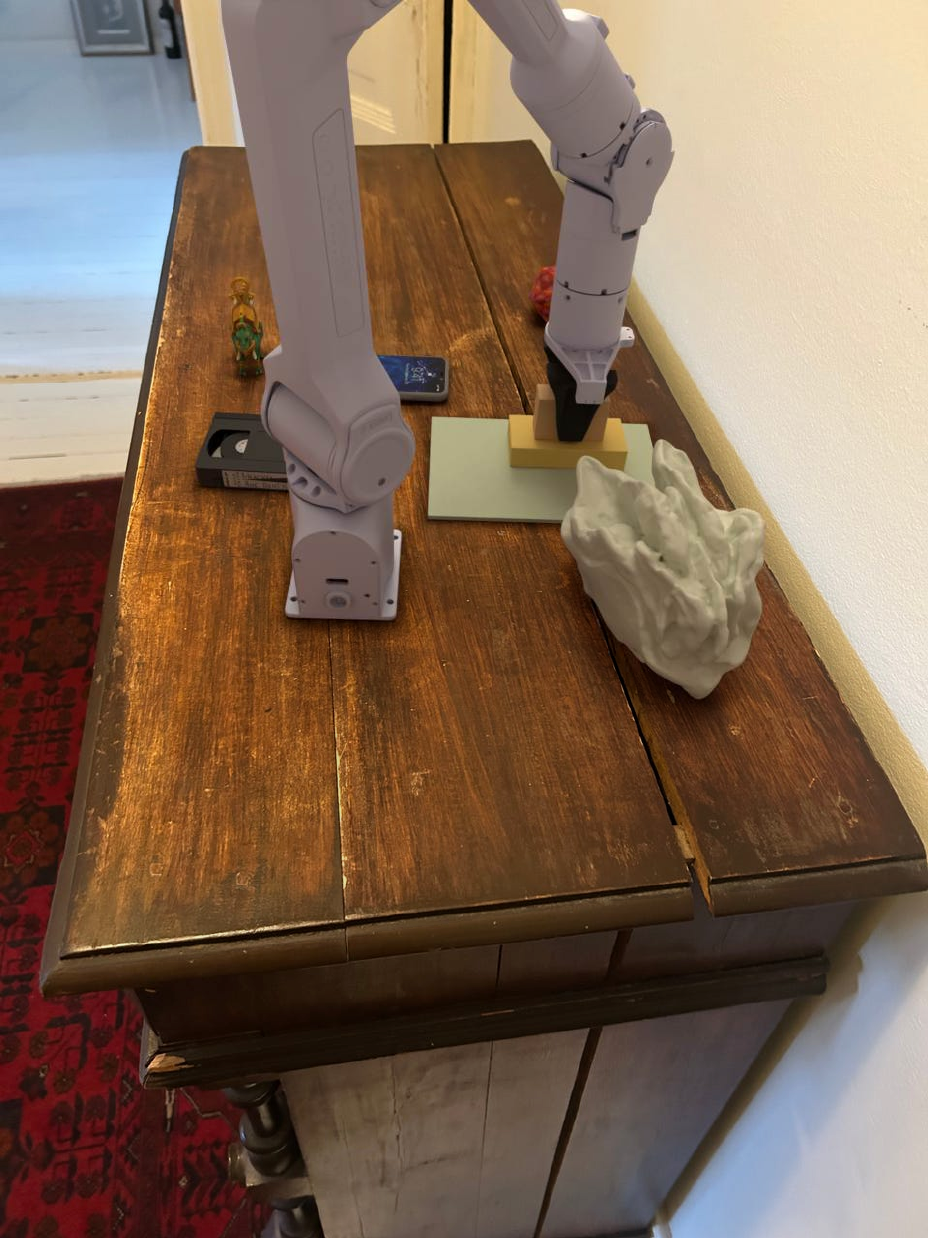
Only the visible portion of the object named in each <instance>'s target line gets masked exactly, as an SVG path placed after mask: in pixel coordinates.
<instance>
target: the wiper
mask: <svg viewBox="0 0 928 1238" xmlns="http://www.w3.org/2000/svg"><path fill="white" fill-rule="evenodd" d="M535 392H536V393H535V401H534V409H533V414H532V415H530V414H509V415H508V419H509V422H508V432H507V434H508V448H509V463H510V467H540V468H572V469H576V467H577V463H578V460H579V459H580V458H581V457H582V456H590V457H592V458H595V459H596V460H598V461H599V462H600V463H601V464H603V465H604V466H605V467H606V468H608V469H616V470H624V467H625V463H626V458H627V454H628V450H627V446H626V441H625V437H624V432H623V428H622V424H623V423H622V420H621V418H618V417H609V413H610V407H611V403H612V402H611V397H610V394H609V395H608V396H607V397H606V399H605V400H604V401H603V404H601V405H600V406H599V408H598V410H597V411H596V413H595V415H594V417H593V419H592V422H591V424H590V426H589V428H588V430H587V433H586V435H585V437H584V438H583V440H582V441H581V442H566V441H559V440H558V436H557V429H556V403H555V397H554V394H553V391H552V389H551V387H550V384H549V383H547V384H545V383H537V385H536V391H535Z"/></svg>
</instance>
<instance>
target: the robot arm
mask: <svg viewBox="0 0 928 1238" xmlns="http://www.w3.org/2000/svg"><path fill="white" fill-rule="evenodd" d="M403 1H404V0H220V10H221V11H220V12H221V22H222V28H223V33H224V40H225V44H226V49H227V55H228V62H229V66H230V71H231V79H232V82H233V88H234V89H233V90H234V93H235V99H236V106H237V110H238V117H239V121H240V126H241V132H242V137H243V142H244V149H245V154H246V160H247V165H248V170H249V176H250V182H251V186H252V187H251V188H252V192H253V197H254V204H255V210H256V215H257V220H258V225H259V230H260V236H261V241H262V246H263V247H262V248H263V251H264V252H263V253H264V257H265V262H266V269H267V273H268V281H269V284H270V291H271V296H272V301H273V306H274V307H273V308H274V312H275V317H276V323H277V329H278V334H279V335H278V336H279V339H280V344H278V345H277V346H276V347H274V349H273V350H272V351H270V352H269V353H268V354H267V355H266V356H265V357H263V360H262V363H263V368H264V374H265V385H264V391H263V395H262V399H261V402H260V414H261V420H262V424H263V426H264V428H265V430H266V432H267V433H268V434H269V435H270V436H271V437H272V438H273V439H274V440H276V441H277V442H279V443H280V444H283V446H282V447H283V455H284V460H285V462H286V472H287V479H288V487H289V491H288V494H289V502H290V509H291V515H292V516H291V517H292V525H293V531H294V536H293V541H292V546H291V556H290V557H291V565H292V571H291V576H290V581H289V582H290V583H289V586H288V592H287V597H286V601H285V602H286V603H285V608H284V614H285V616H286V617H288V618H295V619H297V618H298V619H329V620H331V619H335V620H368V621H369V620H370V621H393V620H395V619H396V617H397V614H398V613H397V612H398V598H399V583H400V570H401V568H400V567H401V556H402V553H401V552H402V542H403V541H402V540H403V533H402V531H401V530H399V529H395V525H394V521H395V520H394V492H395V491H396V490H397V489H399V487H400V486H401V485H402V484H403V482H404V480H405V479H406V477H407V476H408V475H409V472H410V470H411V468H412V465H413V462H414V459H415V454H416V438H415V435H414V432H413V429H411V427H410V426H409V425H408V423H407V422H406V421H405V418H404V416H403V413H402V407H401V400H400V396H399V394H398V392H397V390H396V388H395V386H394V384H393V383H392V381H391V379H390V377H389V376H388V374H387V372H386V371H385V369H384V367H383V366H382V364H381V362H380V361H379V359H378V357H377V355H378V354H377V353H376V351H375V349H374V342H373V340H374V339H373V329H372V319H371V309H370V298H369V297H370V295H369V286H368V276H367V264H366V254H365V244H364V233H363V223H362V220H363V219H362V209H361V199H360V189H359V180H358V179H359V178H358V169H357V157H356V147H355V146H356V144H355V134H354V126H353V125H354V123H353V113H352V112H353V111H352V103H351V102H352V101H351V92H350V91H351V90H350V81H349V71H348V70H349V69H348V56H349V55H350V51H351V50H352V49H353V47H354V46H355V45H356V43H357V42H358V40H359V39H361V38H360V37H361V36H362V35H363V34H364V32H365V31H367V30H370V28H372V27H373V26H375V25H376V24H377V23H378V22H379V21H380V20H382V19H383V18H385V16H386V15H388V14H389V13H390V12H391V11H392V10H394V9H395V8H396V7H397V6H398V5H400V4H401V3H402V2H403ZM466 1H467V2H468V3H469V5H470V6H471V7H472V8H473V9H474V12H476V13H477V14H478V15H479V17H480V18H481V19H482V21H484V23H485V24H486V25H487V26H488V27H489V29H490V30H491V31H492V32H493V34H494V35H495V36H496V37H497V38H498V40H499V41H500V42H501V43H502V45H504V47H505V48H506V49H507V51H508V52H509V53H510V54H511V55H512V56H511V61H510V67H509V81H510V86H511V89H512V91H513V94H514V95H515V97H516V98H517V99H518V100H519V102H520V103H521V104H522V106H523V107H524V108H525V109H526V111H527V112H528V114H529V115H530V116H531V118H532V119H533V120H534V122H535V123H536V124H537V126H539V128H540V129H541V130H542V132H543V134H545V136H546V137H547V138H548V140H549V141H550V147H549V148H550V149H549V151H550V152H549V154H550V160H551V161H550V162H551V166H552V168H553V171H555V172H558V173H559V174H560V175H562V176H563V177H565V178H567V180H566V181H565V188H564V189H565V190H564V197H563V203H562V214H561V222H560V228H559V238H558V245H557V253H556V261H555V265H556V268H555V276H554V284H553V291H552V299H551V307H550V315H549V321H548V323H546V325H545V328H544V336H543V337H542V346H543V347H542V348H543V351H544V353H545V355H546V358H547V360H548V362H547V363H546V364H545V365H546V366H545V369H546V377H547V381H548V384H550V387H551V389H552V391H553V394H554V397H555V403H556V429H557V436H558V440H559V441H566V442H581V441H582V440H583V438H584V437H585V435H586V433H587V430H588V428H589V426H590V424H591V422H592V419H593V417H594V415H595V413H596V411H597V410H598V408H599V406H600V405H601V404H603V401H604V400H605V399H606V397H607V396H608V395H609V396H610V395H611V394H612V393H613V392H614V391H615V390H616V388H617V385H618V384H619V383H618V382H619V377H618V372H617V370H616V369H611V368H612V366H613V363H614V361H615V359H616V357H617V355H618V353H619V350H620V349H621V348H632V347H633V346H634V343H635V339H636V337H635V333H634V330H633V329H632V328H631V327H629V326H623V321H624V316H625V313H626V312H625V311H626V306H627V302H628V297H629V291H630V285H631V280H632V276H633V270H634V265H635V259H636V254H637V251H638V250H637V249H638V245H639V239H640V233H641V230H642V226H645V225H646V224H647V223H648V219H649V217H651V216H652V212H653V208H654V207H653V206H654V202H655V199H656V196H657V194H658V192H659V190H660V188H661V187H662V185H663V183H664V182H665V180H666V178H667V176H668V174H669V171H670V170H671V167H672V164H673V161H674V157H675V153H676V152H675V150H672V149H673V139H672V138H673V137H672V134H671V131H670V129H669V127H668V126H667V122H666V119H665V117H664V116H663V115H662V113H660V112H659V111H657V110H655V109H652V108H649V107H647V106H644V105H642V104H641V102H640V99H639V97H638V95H637V94H636V92H635V88H636V82H635V80H634V79H633V77H632V75H631V74H630V73H627V72H624V71H623V70H622V68H621V66H620V64H619V62H618V61H617V59H616V57H615V56H614V54H613V51H612V50H611V48H610V47H609V45H608V43H607V41H606V39H607V37H608V36H609V34H610V29H609V27H608V25H607V23H606V22H605V20H604V18H603V17H601V16H598V15H595V14H592V13H589V12H585V11H583V10H581V9H578V8H562V7H561V6H560V3H559V1H558V0H466ZM376 354H377V355H376Z"/></svg>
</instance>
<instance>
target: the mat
mask: <svg viewBox="0 0 928 1238" xmlns="http://www.w3.org/2000/svg"><path fill="white" fill-rule="evenodd" d="M508 422H509V418H507V419H506V418H481V417H479V418H477V417H457V416H455V417H452V416H451V417H450V416H431V425H430V426H431V427H430V430H431V431H430V450H429V451H430V452H429V455H430V456H429V476H428V477H429V480H428V482H429V483H428V502H427V520H439V521H440V520H442V521H444V520H445V521H469V522H470V521H472V522H473V521H474V522H504V523H505V522H507V523H534V524H535V523H538V524H541V523H542V524H562V522H563V520H564V518H565V515H566V512H567V511H568V510H569V509H571V508H572V507H573V504H574V502H575V499H576V497H577V494H578V484H577V478H576V469H572V468H540V467H510V463H509V448H508V434H507V432H508ZM622 428H623V432H624V437H625V441H626V446H627V450H628V454H627V458H626V463H625V467H624V470H620V471H622V472H624V473H625V474H626V475H628V476H629V477H631V478H633V479H635V480H637V481H644V482H646V483H648V484H650V485H652V486H653V487H655V481H654V477H653V475H652V453H653V449H654V446H653V443H652V439H651V434H650V430H649V427H648V424H647V423H646V424H645V423H622Z"/></svg>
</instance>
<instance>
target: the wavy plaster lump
mask: <svg viewBox="0 0 928 1238" xmlns="http://www.w3.org/2000/svg"><path fill="white" fill-rule="evenodd" d="M652 475H653V477H654V481H655V487H653V486H652V485H650V484H648V483H646V482H644V481H637V480H635V479H633V478H631V477H629V476H628V475H626V474H625V473H624V472H622V471H620V470H616V469H608V468H606V467H605V466H604V465H603V464H601V463H600V462H599V461H598V460H596V459H595V458H592V457H590V456H582V457H581V458H580V459H579V460H578V463H577V467H576V478H577V484H578V494H577V497H576V499H575V502H574V504H573V507H572V508H571V509H569V510H568V511H567V512H566V515H565V518H564V520H563V522H562V523H561V526H560V538H561V541H562V543H563V545H564V546H565V547H566V549H567V550H568V552H569V553H570V554H571V555H572V557H573V558H574V559H575V561H576V564H577V569H578V572H579V574H580V575H581V580H582V585H583V586H582V587H583V591H584V593H585V594H586V595H587V596H588V597H589V598H590V599H592V600H593V602H594V603H595V604H596V606H597V608H598V610H599V612H600V614H601V616H602V618H603V620H604V623H605V624H606V626H607V627H608V629H609V631H610V632H611V633H612V635H613V636H614V637H615V638H616V640H617V641H618V642H619V643H620V644H621V645H622V644H623V645H624V646H626V647H628V649H629V651H631V653H633V655H634V656H635V657H636V658H637V659H638V661H639V662H641V663H642V664H646V665H647V667H648V668H649V669H650V670H652V671H653V672H654V673H656V674H657V675H659V676H660V677H662V678H664V679H665V680H667V681H670V682H671V683H673V684H675V685H678V686H680V687H682V688H683V690H684V691H686V692H687V693H688V694H689V695H690V696H691V697H693V699H695V700H702V699H704V698H706V697H707V696H708V695H710V694H711V693H712V692H713V691H714V689H715V688H716V687H717V685H719V683H720V681H721V679H722V677H723V675H724V674H725V673H728V672H730V671H732V670H734V669H736V668H738V667H740V666H741V665H742V664H743V663H744V662H745V660H746V658H747V656H748V653H749V650H750V646H751V642H752V637H753V634H754V632H755V630H756V628H757V626H758V624H759V621H760V620H761V616H762V613H763V602H762V598H761V595H760V593H759V590H758V587H757V583H756V577H757V575H758V573H759V572H760V571H761V569H762V568H763V566H764V563H765V560H764V550H765V549H764V548H765V541H766V540H765V539H766V538H765V537H766V528H767V527H766V526H767V524H766V522H765V520H764V518H763V516H762V514H760V513H759V512H758V511H756V510H753V509H750V508H746V507H741V508H737V509H734V510H731V511H728V510H723V509H717V508H716V507H715V506H714V505H713V504H712V503H711V502H710V501H709V500H708V499H707V497H705V495H704V493H703V491H702V488H701V486H700V484H699V480H698V477H697V473H696V470H695V468H694V465H693V464H692V461H691V459H690V458H689V455H687V453H686V452H685V451H683V450H681V449H678V448H675V446H673V445H672V444H671V443H669V441H667V440H665V439H661V438H660V439H658V440H657V441H656V442H655V444H654V446H653V453H652Z"/></svg>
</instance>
